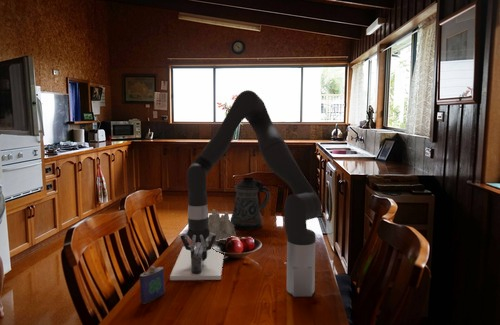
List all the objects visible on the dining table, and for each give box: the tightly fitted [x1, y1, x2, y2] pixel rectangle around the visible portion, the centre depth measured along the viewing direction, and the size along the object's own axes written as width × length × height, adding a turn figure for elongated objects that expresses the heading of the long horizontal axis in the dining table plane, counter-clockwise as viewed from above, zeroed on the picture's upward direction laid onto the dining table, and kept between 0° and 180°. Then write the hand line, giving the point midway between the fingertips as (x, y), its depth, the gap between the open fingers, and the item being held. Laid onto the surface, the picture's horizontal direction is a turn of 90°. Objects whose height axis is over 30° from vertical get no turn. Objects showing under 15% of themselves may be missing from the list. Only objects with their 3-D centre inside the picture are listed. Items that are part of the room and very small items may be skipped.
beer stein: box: [230, 177, 271, 231], centre depth 202 cm, size 16×19×25 cm
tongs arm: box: [192, 242, 202, 258], centre depth 154 cm, size 22×2×5 cm, turn 0°
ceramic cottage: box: [207, 208, 237, 242], centre depth 186 cm, size 16×16×15 cm
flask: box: [139, 265, 166, 305], centre depth 125 cm, size 9×3×11 cm, turn 144°
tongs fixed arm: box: [191, 238, 209, 274], centre depth 153 cm, size 26×4×5 cm, turn 1°
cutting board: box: [169, 245, 225, 281], centre depth 154 cm, size 30×18×2 cm, turn 1°
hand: (199, 259), depth 150 cm, fingers open, 3 cm apart
